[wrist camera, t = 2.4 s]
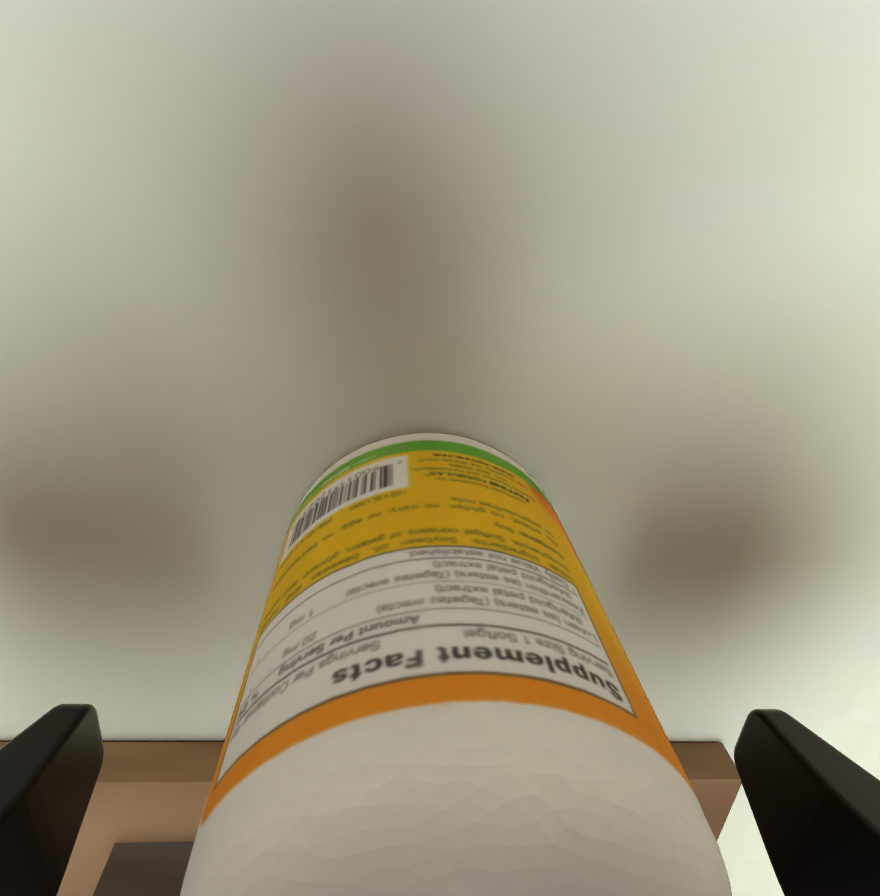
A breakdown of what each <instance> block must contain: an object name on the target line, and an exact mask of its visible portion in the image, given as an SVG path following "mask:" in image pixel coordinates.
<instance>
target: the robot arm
mask: <svg viewBox="0 0 880 896" xmlns="http://www.w3.org/2000/svg"><path fill="white" fill-rule="evenodd" d="M103 757H104V746H103V741H102V736H101V731H100V726H99V721H98V716H97V712H96V709H95V708H94V706H92V705H90V704H61V705H58V706H56V707H54V708H53V709H51V710H50V711H49V712H47V713H46V714H45V715H43V716H42V717H41V718H39V719H38V720H37V721H36V722H34V723H33V724H32V725H30V726H29V727H28V728H26V729H25V730H24V731H23V732H21V733H20V734H19V735H17V736H16V737H15V738H13V739H12V740H11V741H10V742H8V743H7V744H6V745H4V746H3V747H2V748H0V896H57V893H58V890H59V888H60V885H61V882H62V880H63V877H64V874H65V871H66V868H67V865H68V862H69V860H70V857H71V854H72V851H73V848H74V845H75V842H76V839H77V836H78V834H79V831H80V828H81V825H82V822H83V819H84V816H85V813H86V810H87V808H88V805H89V802H90V799H91V796H92V793H93V790H94V787H95V785H96V782H97V779H98V776H99V773H100V770H101V767H102V763H103ZM734 760H735V765H736V768H737V771H738V774H739V777H740V779H741V782H742V785H743V788H744V790H745V793H746V796H747V798H748V801H749V804H750V807H751V809H752V812H753V815H754V818H755V820H756V823H757V826H758V829H759V831H760V834H761V837H762V839H763V842H764V845H765V848H766V850H767V853H768V856H769V859H770V861H771V864H772V866H773V869H774V871H775V874H776V876H777V879H778V881H779V884H780V886H781V888H782V891H783V893H784V895H785V896H880V780H878V779H877V778H875V777H874V776H873V775H871V774H870V773H869V772H867V771H866V770H864V769H863V768H862V767H860V766H859V765H857V764H856V763H855V762H853V761H852V760H851V759H849V758H848V757H846V756H845V755H844V754H842V753H841V752H840V751H838V750H837V749H835V748H834V747H833V746H831V745H830V744H828V743H827V742H826V741H824V740H823V739H822V738H820V737H819V736H817V735H816V734H815V733H813V732H812V731H811V730H809V729H808V728H806V727H805V726H804V725H802V724H801V723H799V722H798V721H797V720H795V719H794V718H793V717H791V716H790V715H788V714H787V713H785V712H783V711H781V710H777V709H755V710H753V711H751V712H750V713H749V714H748V716H747V718H746V721H745V723H744V726H743V728H742V731H741V733H740V736H739V738H738V741H737V743H736V746H735V749H734Z"/></svg>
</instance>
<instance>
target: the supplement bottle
mask: <svg viewBox="0 0 880 896" xmlns="http://www.w3.org/2000/svg"><path fill="white" fill-rule="evenodd" d="M180 896H732V893H731V887H730V882H729V878H728V873H727V870H726V867H725V864H724V861H723V858H722V855H721V852H720V849H719V846H718V843H717V841H716V839H715V837H714V835H713V833H712V831H711V828H710V826H709V824H708V822H707V820H706V818H705V816H704V813H703V811H702V808H701V806H700V803H699V801H698V799H697V797H696V794H695V792H694V790H693V788H692V786H691V784H690V782H689V780H688V777H687V775H686V773H685V771H684V769H683V767H682V765H681V763H680V761H679V759H678V758H677V756H676V754H675V752H674V750H673V748H672V746H671V744H670V742H669V740H668V738H667V736H666V734H665V732H664V730H663V728H662V726H661V724H660V722H659V720H658V718H657V716H656V714H655V712H654V710H653V708H652V706H651V704H650V702H649V700H648V698H647V696H646V694H645V692H644V690H643V688H642V686H641V684H640V682H639V680H638V678H637V675H636V673H635V671H634V669H633V667H632V665H631V663H630V661H629V659H628V657H627V655H626V653H625V651H624V649H623V647H622V645H621V643H620V641H619V639H618V637H617V635H616V633H615V631H614V629H613V627H612V625H611V623H610V621H609V619H608V617H607V615H606V613H605V611H604V609H603V607H602V605H601V603H600V601H599V599H598V597H597V595H596V593H595V591H594V589H593V587H592V584H591V582H590V580H589V578H588V576H587V574H586V572H585V570H584V569H583V566H582V564H581V562H580V560H579V558H578V556H577V554H576V552H575V550H574V548H573V546H572V544H571V542H570V540H569V538H568V536H567V534H566V532H565V530H564V528H563V526H562V524H561V522H560V520H559V518H558V516H557V515H556V513H555V511H554V509H553V507H552V505H551V504H550V502H549V500H548V498H547V497H546V495H545V494H544V492H543V490H542V489H541V487H540V486H539V485H538V484H537V482H536V481H535V480H534V479H533V478H532V476H531V475H530V474H529V473H528V472H527V471H526V470H525V469H523V468H522V467H521V466H520V465H519V464H517V463H516V462H515V461H513V460H512V459H510V458H509V457H508V456H506V455H505V454H503V453H501V452H499V451H497V450H495V449H494V448H491V447H489V446H487V445H485V444H482V443H480V442H477V441H474V440H471V439H468V438H464V437H460V436H455V435H449V434H440V433H415V434H407V435H400V436H396V437H391V438H387V439H383V440H380V441H377V442H374V443H371V444H369V445H366V446H364V447H362V448H359V449H357V450H355V451H353V452H352V453H350V454H348V455H346V456H345V457H343V458H342V459H340V460H339V461H337V462H336V463H335V464H334V465H332V466H331V467H330V468H329V469H327V470H326V471H325V472H324V473H323V474H322V475H321V476H320V477H319V478H318V479H317V480H316V481H315V482H314V484H313V485H312V486H311V488H310V489H309V490H308V491H307V493H306V494H305V496H304V497H303V499H302V500H301V502H300V504H299V506H298V508H297V510H296V512H295V514H294V516H293V519H292V522H291V524H290V527H289V529H288V532H287V535H286V539H285V541H284V545H283V548H282V552H281V555H280V558H279V561H278V564H277V568H276V572H275V575H274V579H273V582H272V585H271V589H270V592H269V596H268V599H267V602H266V606H265V609H264V612H263V616H262V619H261V622H260V626H259V629H258V632H257V636H256V639H255V642H254V646H253V649H252V652H251V656H250V659H249V662H248V666H247V669H246V672H245V675H244V679H243V682H242V685H241V689H240V692H239V695H238V698H237V702H236V705H235V708H234V712H233V715H232V718H231V722H230V725H229V728H228V732H227V735H226V738H225V741H224V744H223V748H222V751H221V754H220V757H219V761H218V764H217V768H216V771H215V775H214V778H213V781H212V784H211V787H210V791H209V794H208V797H207V800H206V803H205V807H204V810H203V813H202V817H201V820H200V824H199V827H198V831H197V834H196V838H195V841H194V845H193V848H192V852H191V855H190V859H189V863H188V866H187V870H186V873H185V877H184V880H183V885H182V889H181V893H180Z"/></svg>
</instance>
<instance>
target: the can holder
mask: <svg viewBox="0 0 880 896" xmlns="http://www.w3.org/2000/svg"><path fill="white" fill-rule="evenodd" d="M7 743H8V742H0V748H2V747H3V746H4V745H6V744H7ZM223 744H224V742H103V746H104V757H103V763H102V767H101V770H100V773H99V776H98V779H97V782H96V785H95V787H94V790H93V793H92V796H91V799H90V802H89V805H88V808H87V810H86V813H85V816H84V819H83V822H82V825H81V828H80V831H79V834H78V836H77V839H76V842H75V845H74V848H73V851H72V854H71V857H70V860H69V862H68V865H67V868H66V871H65V874H64V877H63V880H62V882H61V885H60V888H59V890H58V893H57V896H180V893H181V889H182V885H183V880H184V877H185V873H186V870H187V866H188V863H189V859H190V855H191V852H192V848H193V845H194V841H195V838H196V834H197V831H198V827H199V824H200V820H201V817H202V813H203V810H204V807H205V803H206V800H207V797H208V794H209V791H210V787H211V784H212V781H213V778H214V775H215V771H216V768H217V764H218V761H219V757H220V754H221V751H222V748H223ZM670 744H671V746H672V748H673V750H674V752H675V754H676V756H677V758H678V759H679V761H680V763H681V765H682V767H683V769H684V771H685V773H686V775H687V777H688V780H689V782H690V784H691V786H692V788H693V790H694V792H695V794H696V797H697V799H698V801H699V803H700V806H701V808H702V811H703V813H704V816H705V818H706V820H707V822H708V824H709V826H710V828H711V831H712V833H713V835H714V837H715V839H716V841H717V839H718V837H719V835H720V832H721V830H722V828H723V826H724V823H725V821H726V819H727V816H728V814H729V812H730V809H731V807H732V805H733V802H734V800H735V798H736V795H737V793H738V791H739V788H740V786H741V784H742V782H741V779H740V777H739V774H738V771H737V768H736V766H735V764H734V762H733V761H732V759H731V757H730V756H729V754H728V752H727V750H726V749H725V747H724V745H723V744H722V743H670Z"/></svg>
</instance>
